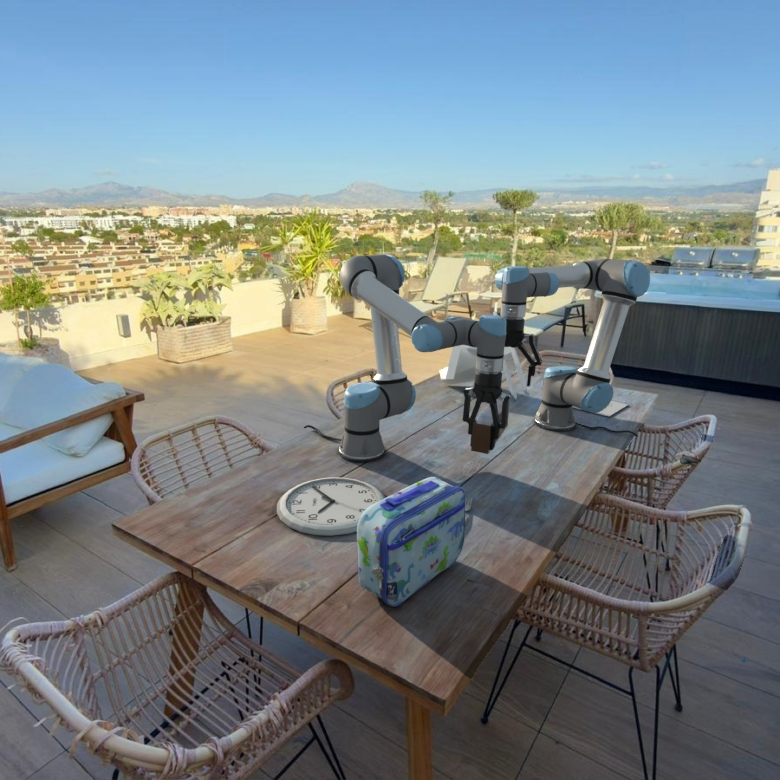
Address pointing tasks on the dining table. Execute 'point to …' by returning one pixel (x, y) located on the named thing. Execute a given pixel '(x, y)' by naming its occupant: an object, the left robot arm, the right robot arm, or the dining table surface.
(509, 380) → the white plastic object
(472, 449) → the bar
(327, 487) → the wall clock
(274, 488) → the dining table surface
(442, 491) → the lunch box
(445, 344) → the left robot arm
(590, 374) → the right robot arm
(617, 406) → the invitation card
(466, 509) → the fork
